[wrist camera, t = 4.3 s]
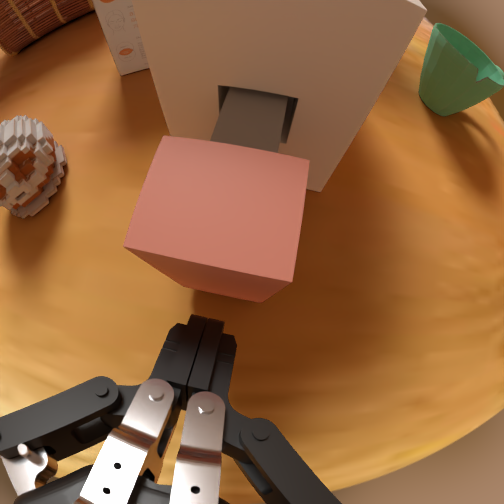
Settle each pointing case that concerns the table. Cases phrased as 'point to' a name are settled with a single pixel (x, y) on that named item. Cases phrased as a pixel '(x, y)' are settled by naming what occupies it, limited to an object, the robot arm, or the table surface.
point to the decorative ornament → (28, 165)
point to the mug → (456, 73)
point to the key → (225, 203)
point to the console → (277, 64)
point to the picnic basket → (35, 20)
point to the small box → (122, 34)
